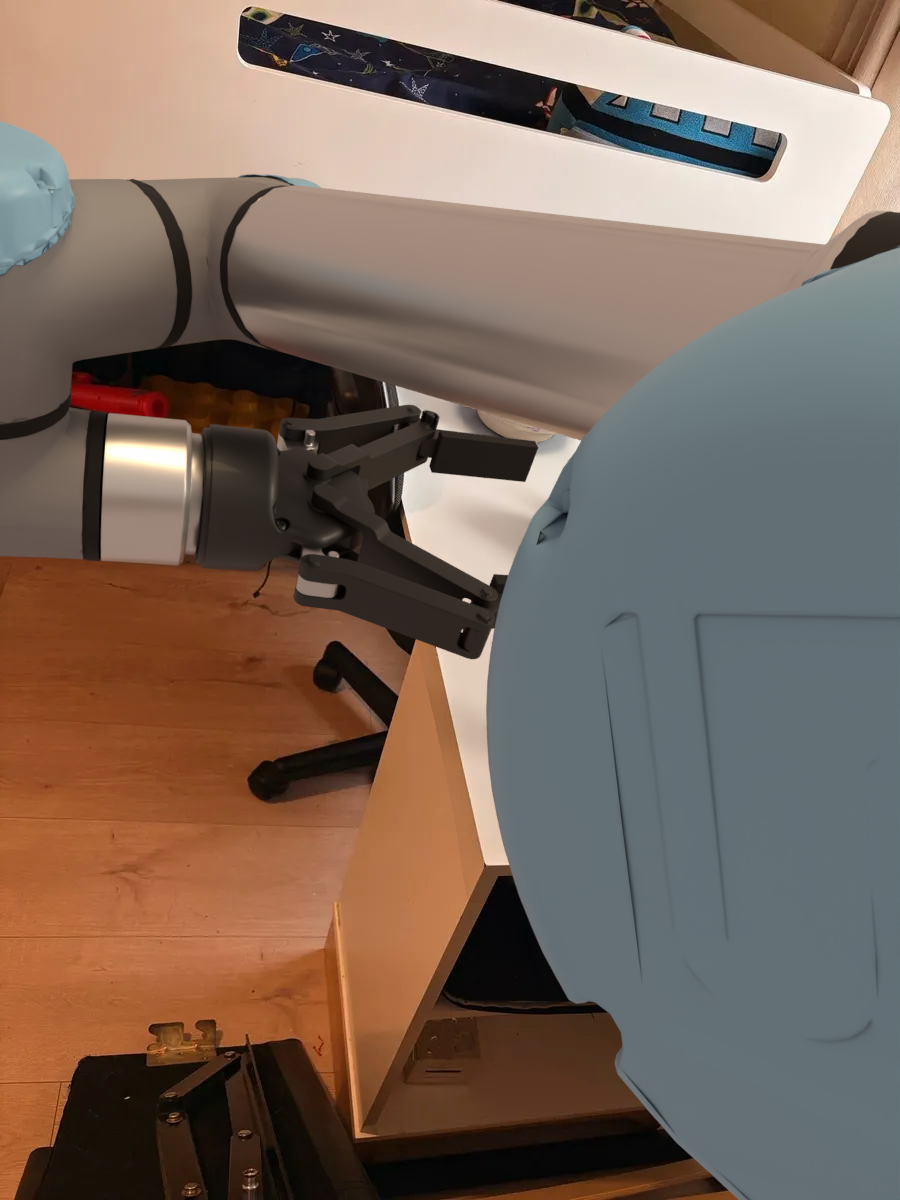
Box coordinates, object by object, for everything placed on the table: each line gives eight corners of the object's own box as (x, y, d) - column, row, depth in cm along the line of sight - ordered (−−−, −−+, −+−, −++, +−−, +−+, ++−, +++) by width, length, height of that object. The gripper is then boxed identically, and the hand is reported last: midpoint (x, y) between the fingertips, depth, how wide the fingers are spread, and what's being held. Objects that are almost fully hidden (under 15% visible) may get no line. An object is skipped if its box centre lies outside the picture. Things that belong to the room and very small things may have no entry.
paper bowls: (482, 381, 124) (499, 328, 119) (582, 425, 122) (603, 373, 117) (440, 422, 113) (456, 365, 108) (549, 472, 110) (572, 416, 105)
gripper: (187, 426, 58) (492, 460, 65) (190, 728, 40) (607, 729, 47) (196, 318, 53) (524, 367, 60) (204, 607, 36) (666, 628, 43)
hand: (562, 526), depth 54 cm, fingers open, 13 cm apart
